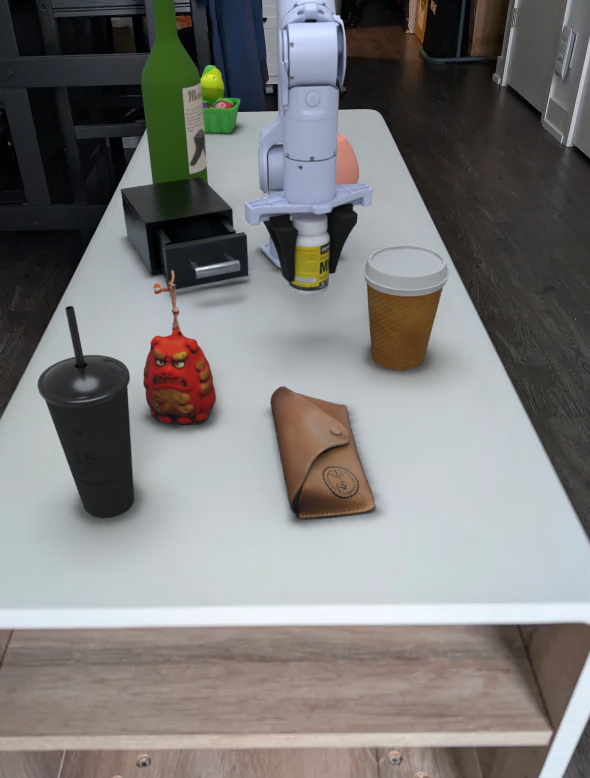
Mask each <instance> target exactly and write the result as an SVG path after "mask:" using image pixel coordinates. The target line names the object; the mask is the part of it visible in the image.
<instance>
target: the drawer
mask: <svg viewBox="0 0 590 778" xmlns="http://www.w3.org/2000/svg"><path fill="white" fill-rule="evenodd" d="M152 237H153V245H154V253H155V260H156V261H157V263H158V264H159V266H160V267H161V269H162V270H163V271H164V275H165V280H166V288H167V287H168V286H169V284H168V283H169V282H170V281H171V279H172V274H171V270H172V271H174V274H175V276H174V282H173V283H174V285H175V284H176V290H179V289H185V288H190V287H196V286H203V285H206V284H212V283H217V282H223V281H229V280H233V279H238V278H244V277H249V260H248V259H249V255H248V235H247V234H246V233H245V231H242V232H237V231H236V229H235V228H234V226H233V227H232V226H231V225H230V224H229V223H228V222H227V221H226V220H225V219H224V218H223V216H220V217H214V218H208V219H202V220H196V221H189V222H183V223H177V224H171V225H165V226H159V227H153V228H152Z"/></svg>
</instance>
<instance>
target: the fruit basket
mask: <svg viewBox="0 0 590 778" xmlns="http://www.w3.org/2000/svg"><path fill="white" fill-rule="evenodd" d="M201 75H202V76H201V77H200V80H201V91H202V105H203V118H204V132H205V133H207V134H208V133H211V134H220V133H221V134H231V133H232V131H234V130H235V129H234V128H235V127H236V124H237V118H238V113H239V107H240V104H241V98H236V97H235V98H234V97H225V96H224V93H225V84H224V81H223V76H222V72H221V71H220V69H218V68H217V67H216V65H211V64H208V65H206V66H205V67H204V69H203V73H201Z"/></svg>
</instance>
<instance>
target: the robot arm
mask: <svg viewBox="0 0 590 778" xmlns="http://www.w3.org/2000/svg"><path fill="white" fill-rule="evenodd" d="M275 1H276V6H275V9H276V55H277V57H276V58H277V63H276V64H277V113H278V114H277V116H276V117H275V118H274V119H273V120H272V121H271V122H270V123H268V124H267V125H266V126H264V128H263V129H262V130H261V131H260V135H259V136H258V152H257V155H258V180H259V181H258V182H259V190H260V191H261V192H262V193H263V194H268V195H267V196H264V197H260V198H257V199H254V200H249V201H244V219H245V221H246V222H247V223H248V224H249V225H250V226H252V227H253V226H259V225H260V224H261V222H263V225H264V226H265V229H266V230H267V232H268V234H269V243H268V244H262V245H261V246H260V250H261V251H262V252H263V253H264V255H265V256H267V258H268V259H269V260H270V261H271V262H272V263H273V264H274V265H275V266H276V267H277V268H278V269H280V270H281V276H282V277H283V278H284V279H285V281H286V282H287V283H289V282H292V281H294V278H295V246H296V240H297V235H298V230H297V229H296V228H295V227H294V226H293V221H292V217H293V216H297V215H303V214H309V213H314V214H326V215H327V224H328V227H327V232H328V234H329V236H330V255H329V275H333V274H336V272H337V268H338V263H339V261H340V258H341V254H342V252H343V249H344V246H345V244H346V242H347V240H348V238H349V236H350V235H351V232H352V231H353V229H354V228H355V226H356V225H357V223H358V213H357V212H356V211H355V210H354V207H356V206H362V207H369V206H372V203H373V187H371V185H369V184H367V183H366V182H359V183H356V184H343V185H336V165H337V135H338V130H339V105H340V103H339V102H340V89H339V87H340V88H342V87H343V85H344V82H345V76H346V69H347V37H346V32H345V26H344V25H345V24H344V20H343V19H341V15H339V14H337V11H336V1H335V0H275ZM337 80H338V85H339V87H338V86H337V85H336V84H337Z"/></svg>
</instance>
